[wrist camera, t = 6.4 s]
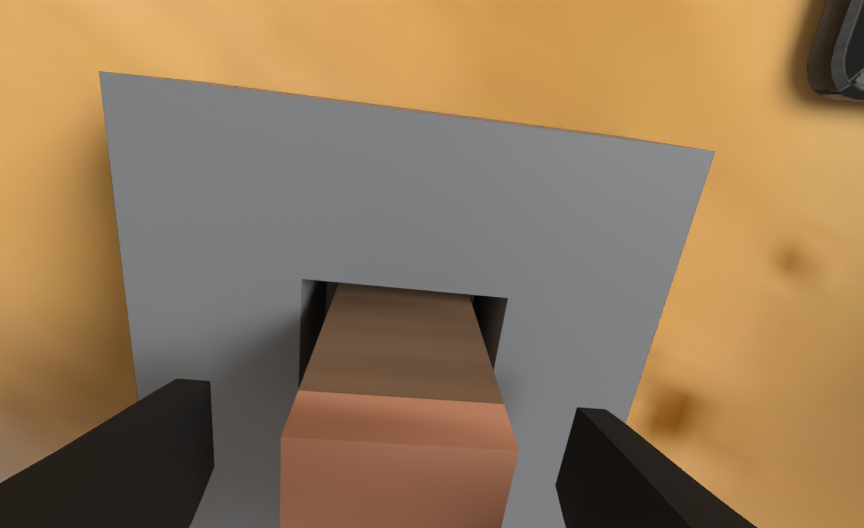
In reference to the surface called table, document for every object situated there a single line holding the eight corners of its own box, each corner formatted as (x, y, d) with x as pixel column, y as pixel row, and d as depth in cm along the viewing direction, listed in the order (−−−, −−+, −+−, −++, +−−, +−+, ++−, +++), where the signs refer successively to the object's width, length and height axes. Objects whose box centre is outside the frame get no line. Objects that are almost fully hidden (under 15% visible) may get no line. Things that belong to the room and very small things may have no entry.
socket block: (540, 461, 17) (579, 563, 13) (214, 442, 16) (155, 547, 12) (625, 137, 13) (715, 151, 9) (196, 80, 12) (99, 71, 8)
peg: (443, 349, 15) (482, 607, 7) (345, 341, 14) (279, 603, 7) (457, 258, 14) (518, 450, 6) (352, 248, 13) (280, 437, 6)
